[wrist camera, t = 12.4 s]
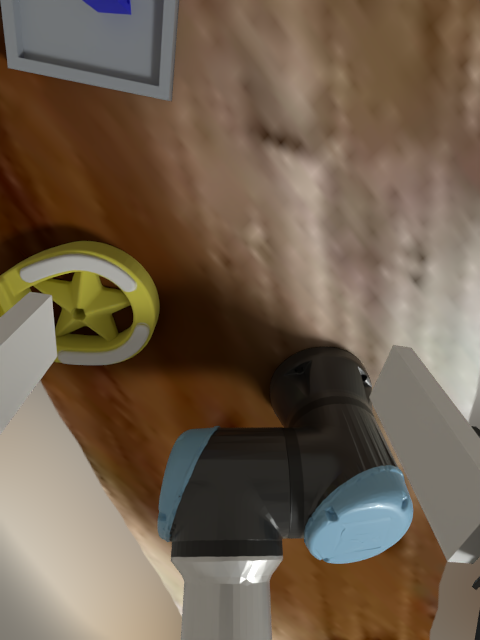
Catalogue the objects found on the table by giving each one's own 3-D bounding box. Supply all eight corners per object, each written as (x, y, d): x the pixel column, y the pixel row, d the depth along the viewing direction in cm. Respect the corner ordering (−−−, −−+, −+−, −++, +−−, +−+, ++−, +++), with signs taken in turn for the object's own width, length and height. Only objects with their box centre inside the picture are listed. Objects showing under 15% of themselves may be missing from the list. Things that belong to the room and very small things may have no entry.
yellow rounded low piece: (-20, 253, 45) (-47, 268, 41) (142, 232, 44) (132, 245, 40) (33, 359, 53) (15, 380, 49) (171, 343, 52) (166, 364, 48)
